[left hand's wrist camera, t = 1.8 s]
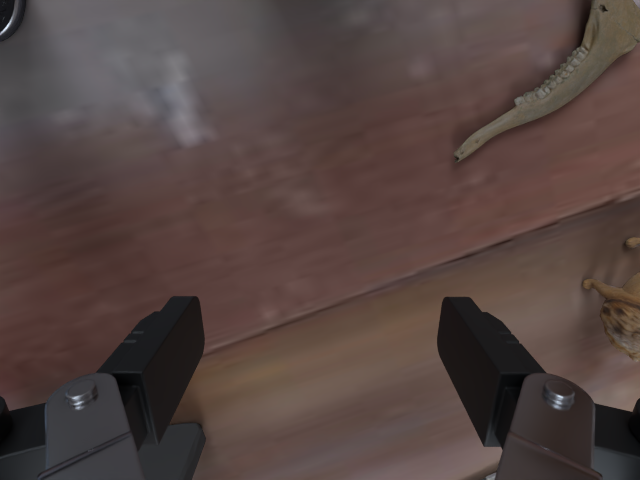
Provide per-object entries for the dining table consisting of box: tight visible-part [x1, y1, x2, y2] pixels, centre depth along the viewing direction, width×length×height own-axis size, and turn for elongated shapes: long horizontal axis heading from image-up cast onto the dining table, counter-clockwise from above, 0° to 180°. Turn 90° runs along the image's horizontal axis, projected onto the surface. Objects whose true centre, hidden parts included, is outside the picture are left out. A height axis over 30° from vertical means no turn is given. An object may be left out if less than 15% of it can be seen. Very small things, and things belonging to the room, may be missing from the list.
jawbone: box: [454, 0, 640, 163], centre depth 32 cm, size 9×20×2 cm, turn 153°
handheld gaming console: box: [138, 423, 206, 480], centre depth 44 cm, size 23×3×10 cm, turn 100°
